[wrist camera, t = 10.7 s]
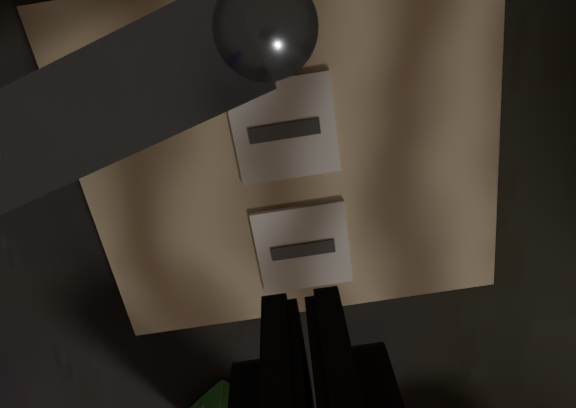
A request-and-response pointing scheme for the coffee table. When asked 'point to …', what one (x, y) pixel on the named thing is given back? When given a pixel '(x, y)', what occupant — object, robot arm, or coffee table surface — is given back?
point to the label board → (309, 167)
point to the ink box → (214, 397)
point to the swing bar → (145, 87)
